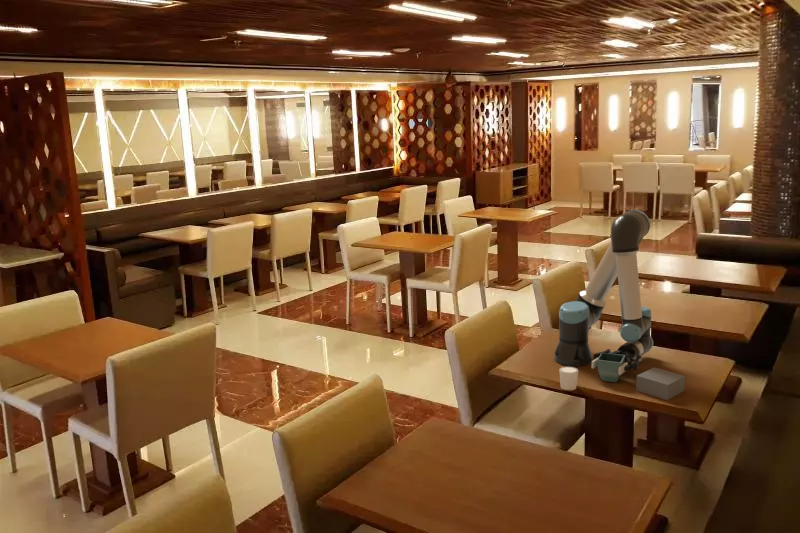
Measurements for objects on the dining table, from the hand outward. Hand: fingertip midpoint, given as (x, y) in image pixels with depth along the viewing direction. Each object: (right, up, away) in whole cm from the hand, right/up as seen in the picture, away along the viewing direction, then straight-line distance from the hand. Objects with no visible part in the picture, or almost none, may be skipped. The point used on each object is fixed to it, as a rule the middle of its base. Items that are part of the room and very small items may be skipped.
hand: (605, 368), depth 249 cm
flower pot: (+3, -5, +4) cm, 8 cm away
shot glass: (-14, -7, -1) cm, 16 cm away
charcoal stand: (+18, -7, -7) cm, 20 cm away
